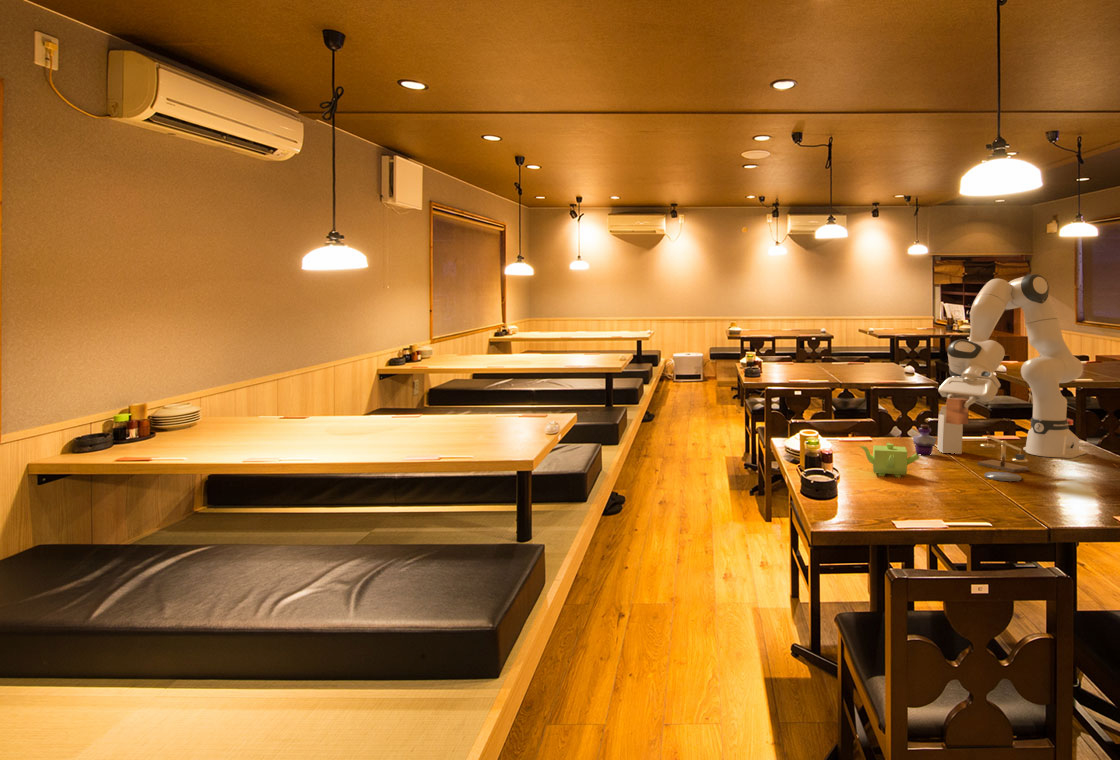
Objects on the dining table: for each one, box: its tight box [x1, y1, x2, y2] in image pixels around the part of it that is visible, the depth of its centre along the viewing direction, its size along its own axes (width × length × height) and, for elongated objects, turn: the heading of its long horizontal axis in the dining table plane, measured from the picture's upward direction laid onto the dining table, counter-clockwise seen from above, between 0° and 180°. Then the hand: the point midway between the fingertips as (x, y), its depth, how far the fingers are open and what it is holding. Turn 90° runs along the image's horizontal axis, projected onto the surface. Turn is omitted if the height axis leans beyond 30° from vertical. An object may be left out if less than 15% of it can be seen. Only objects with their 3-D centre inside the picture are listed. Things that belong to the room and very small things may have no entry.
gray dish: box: [984, 471, 1022, 483], centre depth 254 cm, size 11×11×1 cm
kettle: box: [858, 442, 920, 478], centre depth 261 cm, size 15×14×11 cm
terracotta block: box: [946, 397, 969, 425], centre depth 267 cm, size 5×5×9 cm
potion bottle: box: [912, 424, 937, 456], centre depth 292 cm, size 9×9×12 cm
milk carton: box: [936, 405, 964, 455], centre depth 295 cm, size 7×7×19 cm
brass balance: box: [977, 435, 1029, 473], centre depth 268 cm, size 8×18×11 cm, turn 23°
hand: (956, 406), depth 266 cm, fingers closed on terracotta block, 5 cm apart
